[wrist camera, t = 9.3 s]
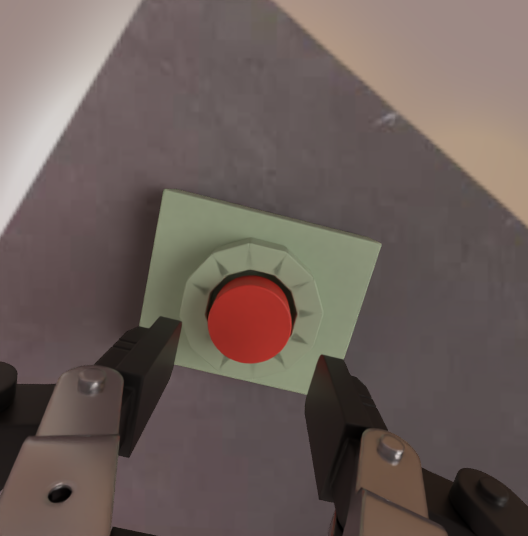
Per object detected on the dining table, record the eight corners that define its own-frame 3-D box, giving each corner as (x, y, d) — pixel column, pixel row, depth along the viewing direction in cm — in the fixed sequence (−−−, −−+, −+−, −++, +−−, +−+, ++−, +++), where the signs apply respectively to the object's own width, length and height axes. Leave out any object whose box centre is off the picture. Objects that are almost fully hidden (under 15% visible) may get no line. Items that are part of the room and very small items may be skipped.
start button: (206, 337, 17) (199, 353, 15) (222, 266, 16) (217, 276, 14) (278, 353, 17) (279, 372, 15) (297, 284, 16) (301, 296, 14)
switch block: (147, 338, 21) (119, 373, 17) (175, 188, 19) (150, 188, 15) (324, 379, 21) (337, 422, 17) (369, 237, 19) (395, 249, 15)
